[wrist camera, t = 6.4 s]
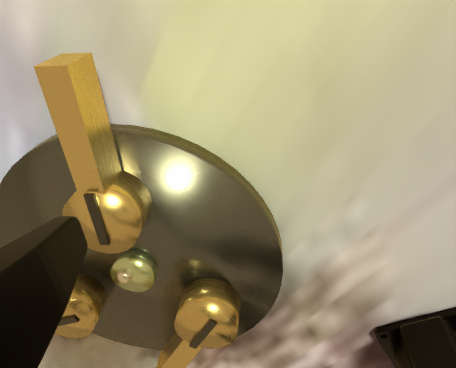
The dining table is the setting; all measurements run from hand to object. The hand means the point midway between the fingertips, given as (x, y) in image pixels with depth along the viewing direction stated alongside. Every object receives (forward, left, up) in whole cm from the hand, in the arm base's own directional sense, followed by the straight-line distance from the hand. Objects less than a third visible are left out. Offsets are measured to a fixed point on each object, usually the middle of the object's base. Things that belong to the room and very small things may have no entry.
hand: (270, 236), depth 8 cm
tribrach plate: (-5, +13, -11) cm, 18 cm away
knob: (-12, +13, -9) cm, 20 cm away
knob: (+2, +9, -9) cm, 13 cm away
